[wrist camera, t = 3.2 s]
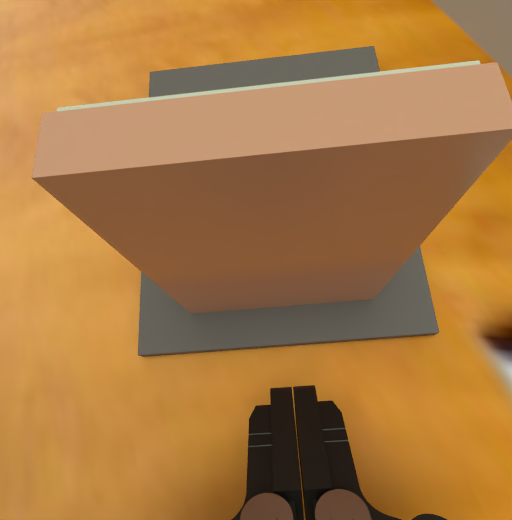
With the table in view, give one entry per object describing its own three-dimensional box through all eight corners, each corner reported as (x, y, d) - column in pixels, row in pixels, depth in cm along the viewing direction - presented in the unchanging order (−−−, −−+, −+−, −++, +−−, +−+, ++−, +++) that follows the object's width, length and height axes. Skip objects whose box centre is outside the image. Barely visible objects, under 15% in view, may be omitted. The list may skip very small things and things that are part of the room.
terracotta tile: (373, 299, 21) (521, 127, 7) (191, 313, 21) (31, 177, 8) (367, 264, 21) (493, 51, 8) (191, 279, 22) (44, 102, 9)
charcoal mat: (433, 334, 20) (439, 332, 20) (143, 356, 21) (137, 355, 21) (371, 55, 27) (374, 46, 27) (153, 80, 28) (149, 72, 27)
